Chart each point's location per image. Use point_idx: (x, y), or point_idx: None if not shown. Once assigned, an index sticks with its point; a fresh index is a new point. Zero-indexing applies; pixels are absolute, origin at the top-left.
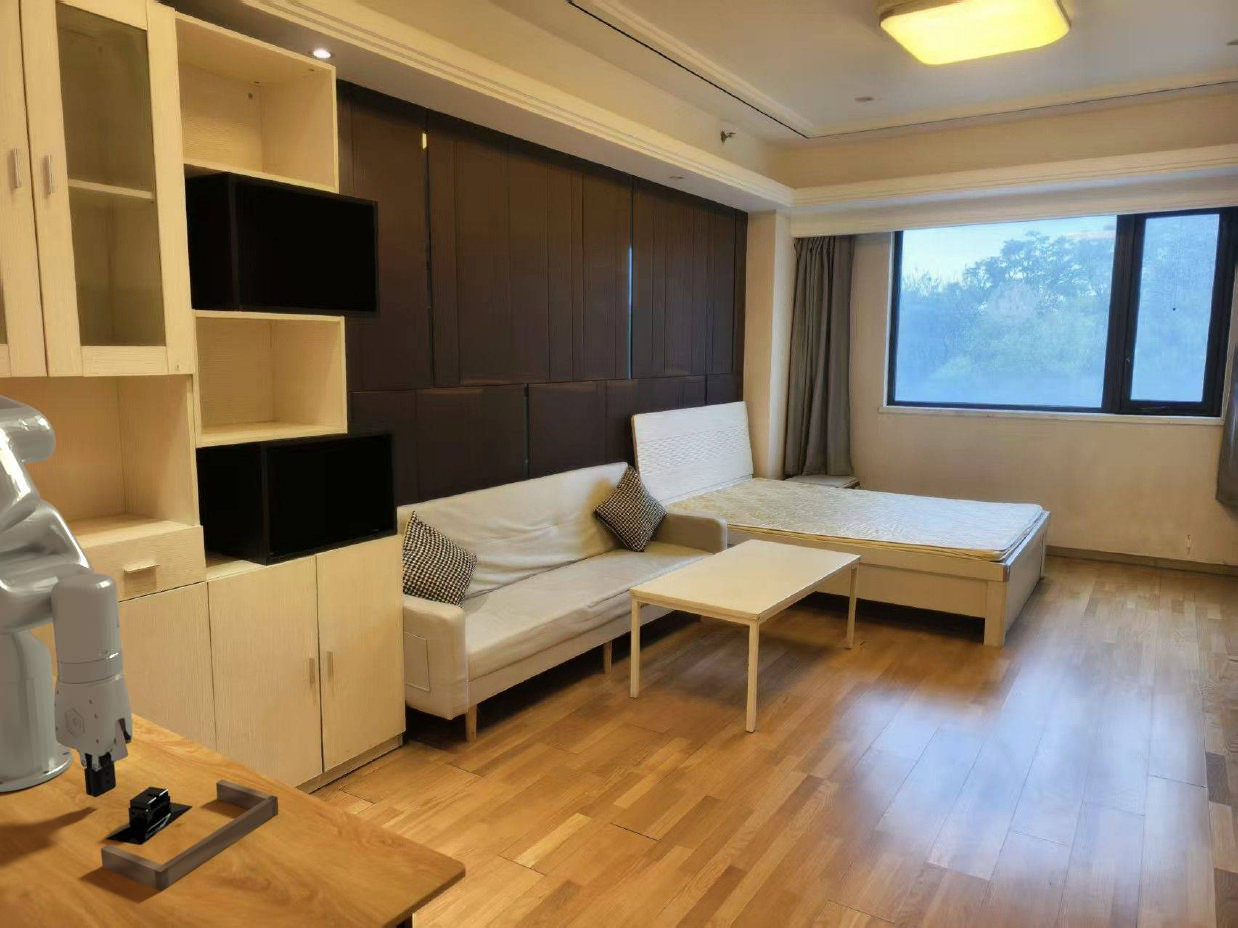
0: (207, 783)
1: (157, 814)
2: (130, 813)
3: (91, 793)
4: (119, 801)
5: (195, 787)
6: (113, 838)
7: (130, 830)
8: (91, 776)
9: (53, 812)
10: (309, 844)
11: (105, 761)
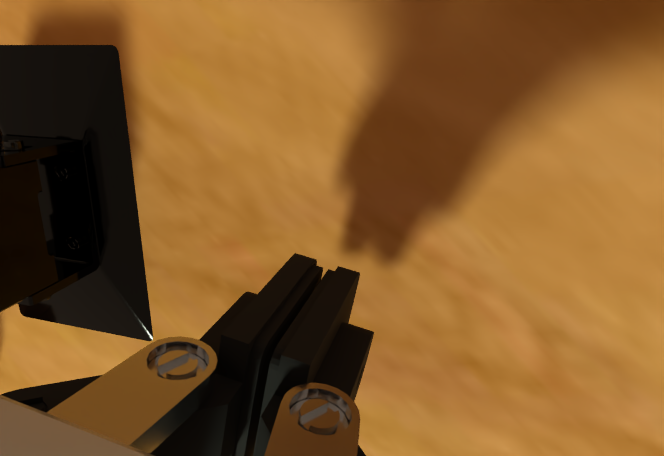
0: None
1: (44, 230)
2: (3, 141)
3: (307, 262)
4: None
5: None
6: (89, 57)
7: (63, 118)
8: (248, 313)
9: (545, 191)
10: None
11: (58, 390)
